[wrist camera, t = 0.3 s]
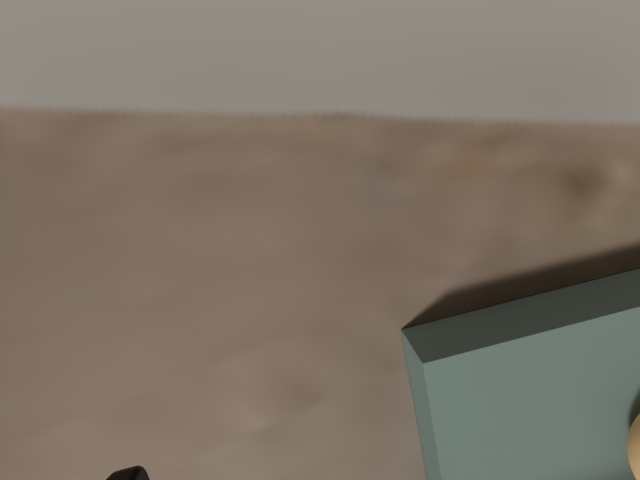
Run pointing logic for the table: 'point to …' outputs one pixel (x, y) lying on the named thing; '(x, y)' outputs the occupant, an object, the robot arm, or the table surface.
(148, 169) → the table surface
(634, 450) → the ball
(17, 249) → the table surface
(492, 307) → the deck
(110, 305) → the table surface
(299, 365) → the table surface
